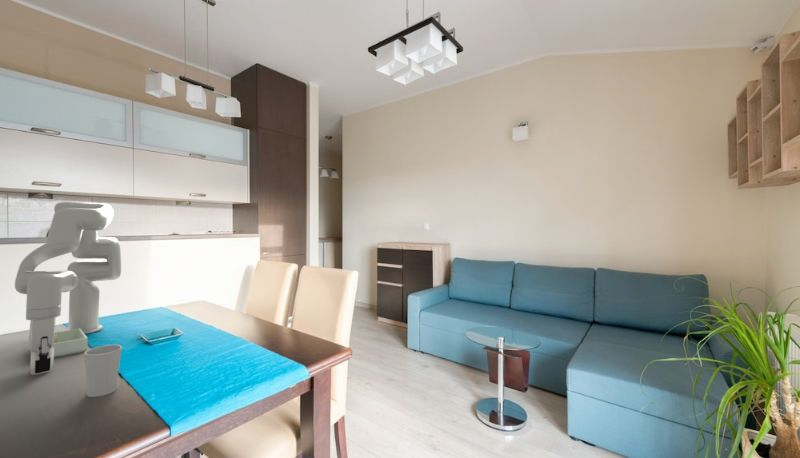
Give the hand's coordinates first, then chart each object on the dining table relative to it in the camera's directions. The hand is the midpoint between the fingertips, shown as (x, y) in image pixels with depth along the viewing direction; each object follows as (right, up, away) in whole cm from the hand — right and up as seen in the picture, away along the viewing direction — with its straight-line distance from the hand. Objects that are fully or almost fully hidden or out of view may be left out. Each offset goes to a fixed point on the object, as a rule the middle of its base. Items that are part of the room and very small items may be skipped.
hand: (41, 368), depth 103 cm
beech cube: (-17, 0, +17) cm, 24 cm away
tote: (-13, -1, +17) cm, 22 cm away
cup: (+30, -2, -11) cm, 32 cm away
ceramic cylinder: (0, -1, 0) cm, 1 cm away
